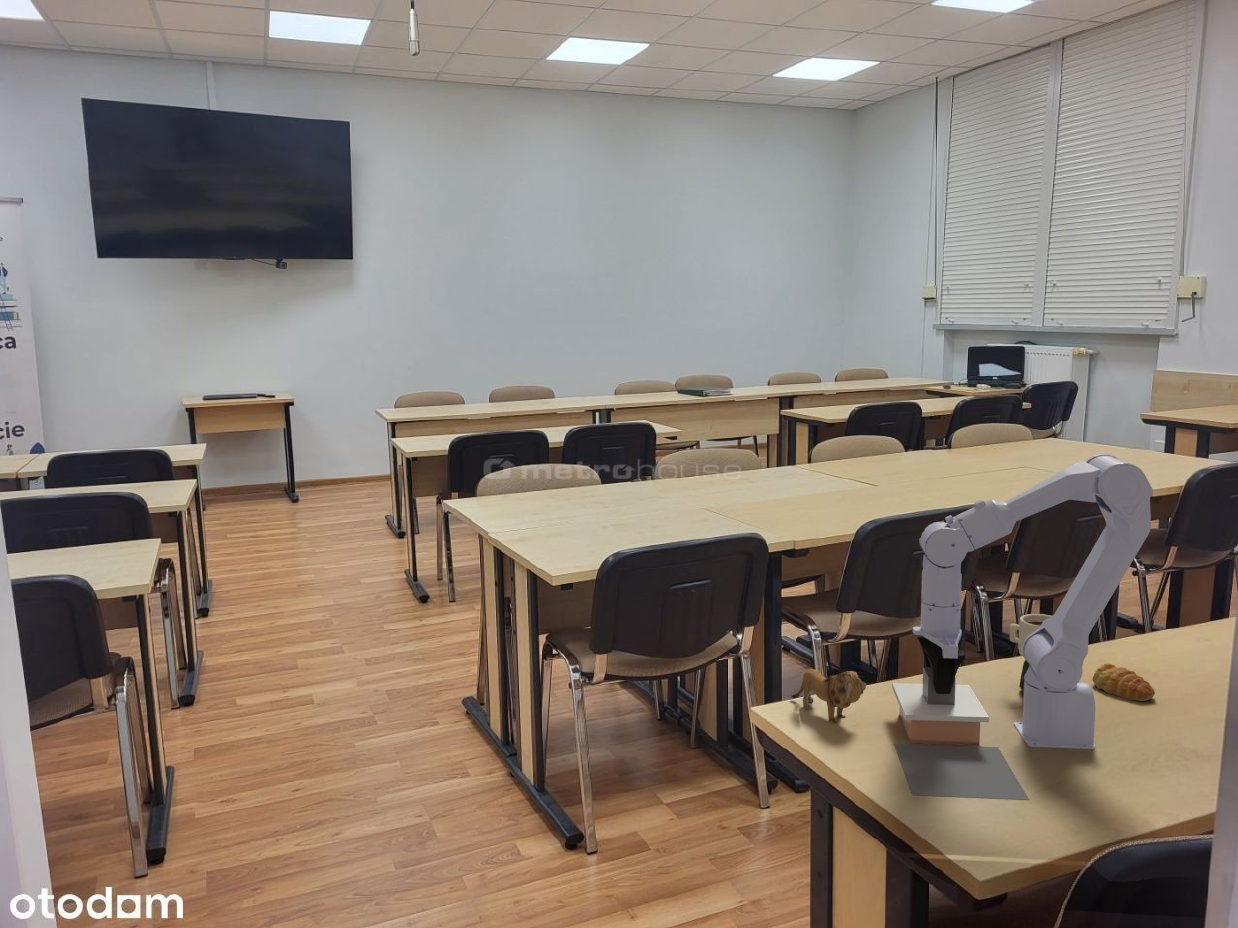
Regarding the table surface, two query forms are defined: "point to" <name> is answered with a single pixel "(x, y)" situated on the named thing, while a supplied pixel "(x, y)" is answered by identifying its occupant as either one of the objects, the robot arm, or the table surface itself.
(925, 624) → the robot arm
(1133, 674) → the pastry
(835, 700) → the lion figurine
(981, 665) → the table surface
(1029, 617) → the character mug
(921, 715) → the lid
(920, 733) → the dish
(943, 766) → the mat
